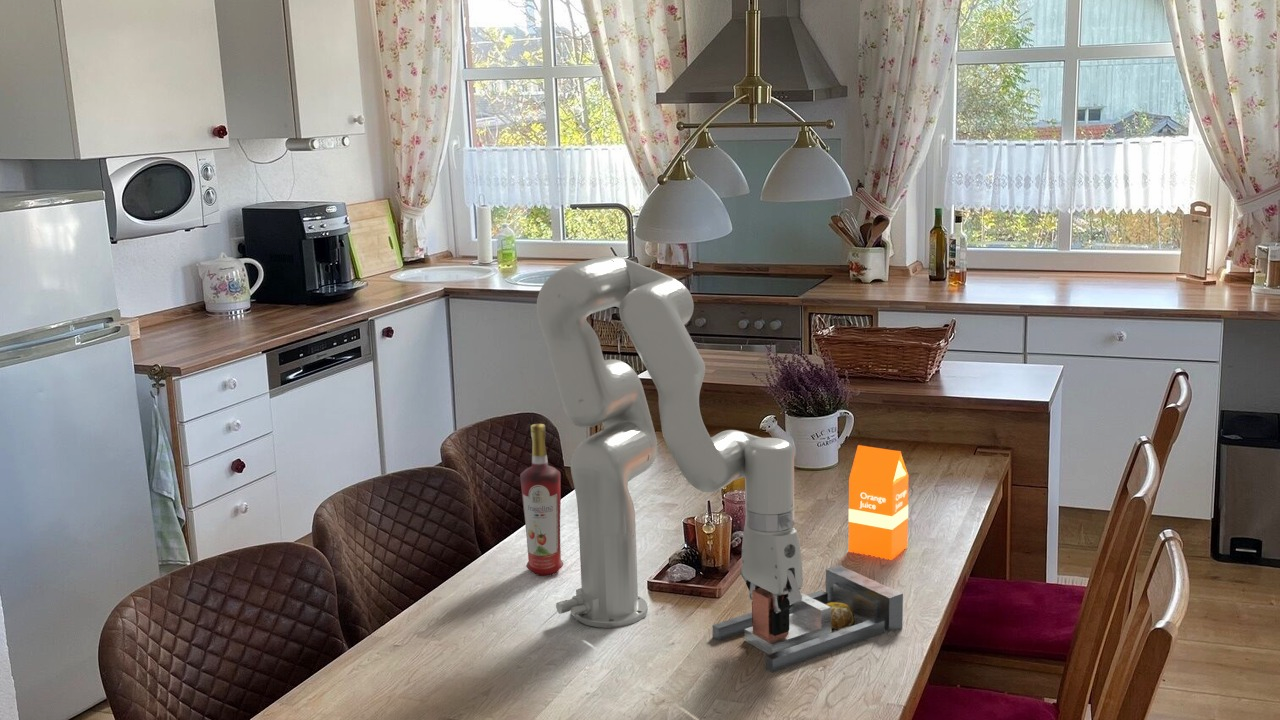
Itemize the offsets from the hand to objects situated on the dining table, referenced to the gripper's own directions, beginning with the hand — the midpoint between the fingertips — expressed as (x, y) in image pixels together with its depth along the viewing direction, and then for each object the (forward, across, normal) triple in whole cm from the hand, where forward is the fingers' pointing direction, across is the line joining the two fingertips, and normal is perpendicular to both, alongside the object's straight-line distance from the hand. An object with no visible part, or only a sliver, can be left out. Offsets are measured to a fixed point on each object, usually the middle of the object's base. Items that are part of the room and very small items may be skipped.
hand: (770, 626), depth 195 cm
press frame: (+3, 0, -8) cm, 8 cm away
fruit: (+4, -1, -12) cm, 13 cm away
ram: (+3, 0, -4) cm, 5 cm away
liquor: (+3, +49, +14) cm, 51 cm away
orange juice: (+3, +20, -42) cm, 47 cm away
